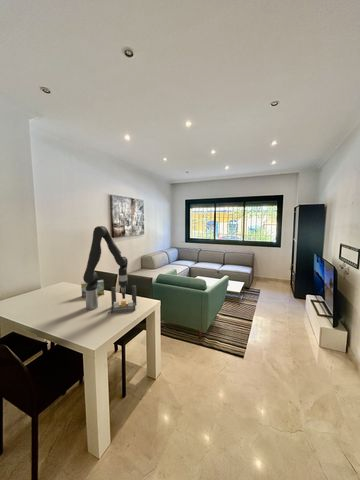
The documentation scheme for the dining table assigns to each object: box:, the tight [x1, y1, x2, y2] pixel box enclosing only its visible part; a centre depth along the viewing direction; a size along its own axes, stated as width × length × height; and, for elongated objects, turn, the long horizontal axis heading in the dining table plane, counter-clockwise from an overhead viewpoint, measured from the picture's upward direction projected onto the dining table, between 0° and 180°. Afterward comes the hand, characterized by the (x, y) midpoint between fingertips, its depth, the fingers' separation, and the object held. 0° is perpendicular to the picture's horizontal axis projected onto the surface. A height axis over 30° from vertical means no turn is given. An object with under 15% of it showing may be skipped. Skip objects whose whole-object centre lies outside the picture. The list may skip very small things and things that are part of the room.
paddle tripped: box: [120, 300, 127, 307], centre depth 171 cm, size 4×4×4 cm
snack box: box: [80, 279, 105, 298], centre depth 204 cm, size 21×6×15 cm, turn 112°
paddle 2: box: [127, 299, 133, 306], centre depth 173 cm, size 4×4×4 cm
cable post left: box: [110, 286, 117, 306], centre depth 178 cm, size 4×4×18 cm
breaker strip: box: [110, 302, 136, 314], centre depth 171 cm, size 20×7×5 cm, turn 103°
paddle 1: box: [114, 301, 120, 308], centre depth 170 cm, size 4×4×4 cm
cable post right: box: [131, 285, 137, 306], centre depth 182 cm, size 4×4×18 cm
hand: (123, 298), depth 174 cm, fingers closed
